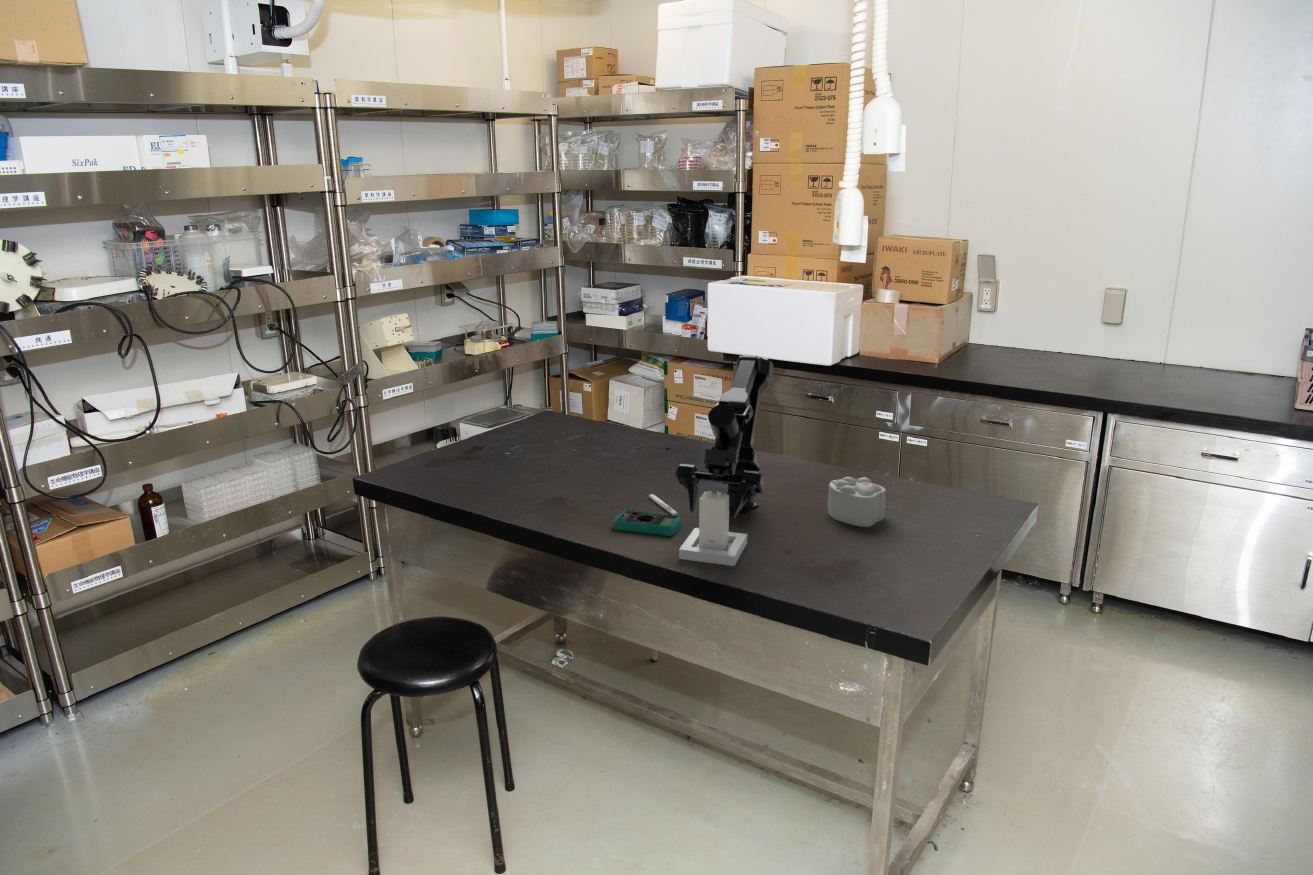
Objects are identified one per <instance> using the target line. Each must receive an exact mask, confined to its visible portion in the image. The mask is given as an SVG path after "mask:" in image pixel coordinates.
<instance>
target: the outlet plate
mask: <svg viewBox="0 0 1313 875" xmlns="http://www.w3.org/2000/svg"><path fill="white" fill-rule="evenodd" d="M747 544H748V533H741V532H734V531H733V532H731V531H729V539H728V545H727V547H726V549H725V551H720V550H712V549H704V548H699V527H695V528H693V529H692V531H691V532H690V534H689V535H688V536H687V538H686V539H685V541H684V542H683V544H682V545H681V546H680V548H679V549H678V551H679V552H678V554H679V555H678V558H679V560H685V561H693V562H699V563H700V562H701V563H708V564H714V563H715V565H721V564H722V565H723V566H730V567H735V566H736V565H737V563H738V560H739V558H740V557H741V555H742V553H743V551H744V549H745V548H746V547H747Z"/></svg>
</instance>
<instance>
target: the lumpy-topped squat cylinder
mask: <svg viewBox="0 0 1313 875" xmlns="http://www.w3.org/2000/svg"><path fill="white" fill-rule="evenodd" d="M886 494H887V490H886V488H885V487H884V486H882V485H879V484H877V483H873V482H872V480H871V479H870V478H868V477H866V476H865V477H864V476H863V477H859V478H854V477H851V476H845V477H843V478H841V479H839V478H837V479H835V480H833V479H832V480H831V481H830V483H829V484H828V501H827V514H828V516H830V517H831V518H833V519H834V520H835V521H836V520H837V521H839V522H842V523H843V524H848V525H852V526H857V527H861V528H863V527H864V528H868V527H871V526H874V525H875V524H876V523H878V522H880V521H883V520H884V518H885V508H886Z"/></svg>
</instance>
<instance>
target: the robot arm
mask: <svg viewBox="0 0 1313 875" xmlns="http://www.w3.org/2000/svg"><path fill="white" fill-rule="evenodd" d="M736 359H737V360H736V366H735V367H736V368H735V375H734V377H733V380H732V383H731V386H730V389H729V390H728V391H726V392H723V393H722V395H721V397H720V398H719V401H718V402H717V403H716V404H715V406H713V407H712V408H711V409H710V410H709V411H708V414H707V418H708V422H709V426H710V428H711V431H712V433H713V436H715V439H714V441H713V446H712V448H705V449H704V450H705V451H704V457H703V458H704V459H703V465H704V466H705V467H704V468H705V469H706V470H708V471H699V470H698V469H697V466H696V465H694V464H688V463H680V464H678V465H677V467H676V470H675V472H674V474H675V477H676V478H677V480H678V483H679V484H680V485H682V486H683V487H684V489H685V490H687V494H688V500H689V501H688V502H689V509H690V513H692V514H693V513H694V511H695V509H696V508H695V507H696V503H697V497H698V493H699V492H698V491H699V487H698V485H699V482H700V481H704V482H711V483H712V482H713V483H722V484H724V485H727V486H728V487H727V491H726V492H727V493H726V494H728V495H729V510H730V509H731V510H732V518H733V519H734V518H735V519H736V517H737V516H738V515H739V513H745V512H748V511H750V510H753V509H755V508H757V507H759V506H760V505H759V503H758V502H755V497H757V496H758V495H757V494H763V493H764V491H765V490H764V489H765V480H764V476H763V473H761V469H760V466H759V462H758V458H757V455H756V453H755V451H754V449H753V447H754V446H753V445H754V441H755V440H754V438H755V433H756V426H757V421H758V414H759V408H760V402H761V401H760V400H761V394H763V392H764V391H765V390H766V389H767V388H768V386H769V385H770V378H772V377H773V374H774V363H773V361H771V360H770V359H769V358H766V357H761V356H758V355H754V354H753V355H749V354H742V355H739V357H738V358H736Z"/></svg>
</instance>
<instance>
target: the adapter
mask: <svg viewBox="0 0 1313 875" xmlns="http://www.w3.org/2000/svg"><path fill="white" fill-rule="evenodd" d="M698 500H699V502H698V503H699V504H698V506H699V507H698V508H699V510H698V512H699V517H698V520H699V521H698V522H699V524H698V525H699V526H698V528H699V548H704V549H712V550H720V551H725V549H726V547H727V545H728V539H729V532H730V530H729V529H730V528H729V526H730V524H729V521H730V508H729V495H728V494H727V493H725V494H724V493H722V491H716V492H713V490H707V491H704V492H702V494H701V496H700V497H699V499H698Z"/></svg>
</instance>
